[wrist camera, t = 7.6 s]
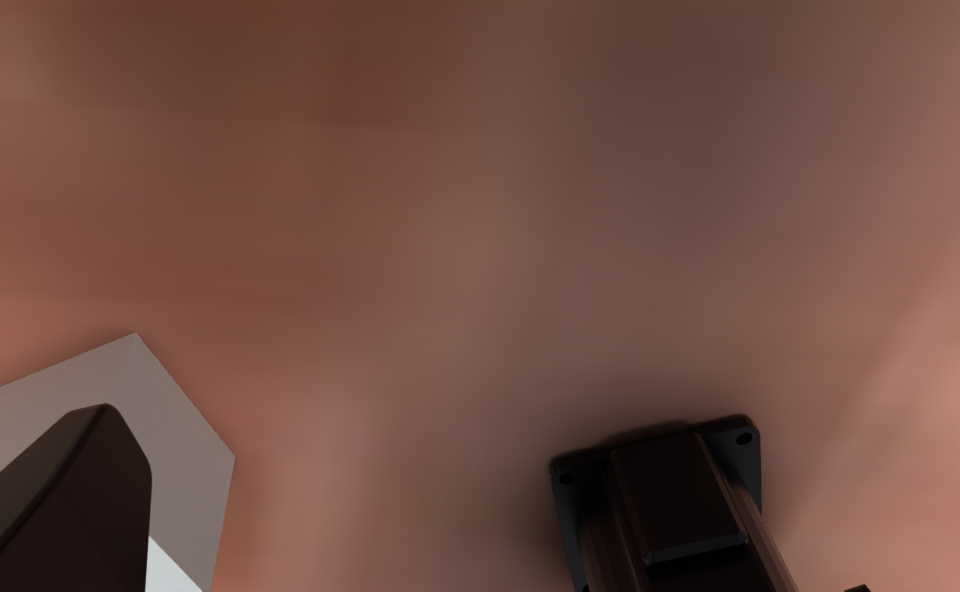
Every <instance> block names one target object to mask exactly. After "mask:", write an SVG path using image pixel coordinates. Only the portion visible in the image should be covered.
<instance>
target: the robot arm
mask: <svg viewBox="0 0 960 592" xmlns="http://www.w3.org/2000/svg"><path fill="white" fill-rule="evenodd" d="M743 433H745V434H743ZM740 434H743V435H741V436H739V435H740ZM564 473H569V474H567V475H562V474H564ZM549 475H550V480H551V484H552V489H553V494H554V498H555V503H556V507H557V512H558V516H559V521H560V525H561V530H562V535H563V539H564V544H565V548H566V553H567V557H568V562H569V566H570V571H571V576H572V580H573V585H574V589H575V592H799V591H798V589H797V587H796V585H795V583H794V581H793V579H792V577H791V575H790V573H789V571H788V569H787V567H786V565H785V563H784V561H783V559H782V557H781V555H780V553H779V551H778V549H777V547H776V545H775V543H774V541H773V539H772V537H771V535H770V533H769V531H768V529H767V527H766V525H765V523H764V521H763V519H762V512H761V454H760V433H759V431H758V429H757V427H756V425H755V423H754V422H753V421H752V420H751V419H747V418H738V419H734V420H729V421H725V422H720V423H716V424H711V425H707V426H702V427H698V428H694V429H689V430H685V431H680V432H676V433H671V434H667V435H662V436H658V437H653V438H649V439H644V440H640V441H636V442H631V443H627V444H622V445H618V446H613V447H609V448H604V449H600V450H595V451H591V452H587V453H582V454H578V455H573V456H569V457H564V458H561V459H558V460H556V461H555V462H553V463H552V464H551V466H550V468H549ZM151 496H152V472H151V467H150V464H149V461H148V459H147V457H146V455H145V453H144V452H143V450H142V448H141V446H140V445H139V443H138V441H137V440H136V438H135V436H134V435H133V433H132V431H131V430H130V428H129V426H128V425H127V423H126V421H125V420H124V418H123V416H122V415H121V413H120V412H119V411H118V409H117V408H116V407H114V406H113V405H111V404H108V403H102V404H97V405H93V406H88V407H84V408H80V409H75V410H72V411H69V412H67V413H66V414H65V415H63V416H62V417H61V418H60V419H59V420H58V421H57V422H55V423H54V424H53V425H52V426H51V427H50V428H49V429H48V430H46V431H45V432H44V433H43V434H42V435H41V436H40V437H39V438H37V439H36V440H35V441H34V442H33V443H32V444H31V445H30V446H28V447H27V448H26V449H25V450H24V451H23V452H22V453H20V454H19V455H18V456H17V457H16V458H15V459H14V460H13V461H11V462H10V463H9V464H8V465H7V466H6V467H5V468H4V469H2V470H1V471H0V592H145V590H146V575H147V559H148V543H149V528H150V512H151ZM844 592H870V590H869V589H868V588H867V586H866V585H865V584H863V585H860V586H857V587H854V588H851V589H848V590H844Z"/></svg>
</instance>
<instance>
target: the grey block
mask: <svg viewBox="0 0 960 592" xmlns="http://www.w3.org/2000/svg"><path fill="white" fill-rule="evenodd" d="M102 403H108V404H111V405H113V406H114V407H116V408H117V409H118V411H119V412H120V413H121V415H122V416H123V418H124V420H125V421H126V423H127V425H128V426H129V428H130V430H131V431H132V433H133V435H134V436H135V438H136V440H137V441H138V443H139V445H140V446H141V448H142V450H143V452H144V453H145V455H146V457H147V459H148V461H149V464H150V467H151V472H152V496H151V512H150V528H149V543H148V559H147V575H146V590H145V592H211V587H212V582H213V576H214V571H215V565H216V560H217V554H218V549H219V544H220V538H221V533H222V527H223V522H224V516H225V511H226V506H227V500H228V495H229V489H230V484H231V478H232V473H233V467H234V462H235V456H234V454H233V453H232V452H231V451H230V449H229V448H228V447H227V446H226V444H225V443H224V442H223V441H222V439H221V438H220V437H219V436H218V434H217V433H216V432H215V431H214V429H213V428H212V427H211V426H210V424H209V423H208V422H207V421H206V419H205V418H204V417H203V416H202V414H201V413H200V412H199V411H198V409H197V408H196V407H195V406H194V404H193V403H192V402H191V401H190V399H189V398H188V397H187V396H186V394H185V393H184V392H183V391H182V389H181V388H180V387H179V386H178V384H177V383H176V382H175V381H174V379H173V378H172V377H171V376H170V374H169V373H168V372H167V371H166V369H165V368H164V367H163V366H162V364H161V363H160V362H159V361H158V359H157V358H156V357H155V356H154V354H153V353H152V352H151V351H150V349H149V348H148V347H147V346H146V344H145V343H144V342H143V341H142V339H141V338H140V337H139V335H138V334H137V333H136V332H134V333H132V334H129V335H127V336H124V337H122V338H119V339H117V340H114V341H112V342H110V343H107V344H105V345H102V346H100V347H97V348H95V349H92V350H90V351H87V352H85V353H82V354H80V355H77V356H75V357H72V358H70V359H67V360H65V361H62V362H60V363H57V364H55V365H53V366H50V367H48V368H45V369H43V370H40V371H38V372H35V373H33V374H30V375H28V376H25V377H23V378H20V379H18V380H15V381H13V382H10V383H8V384H5V385H3V386H1V387H0V471H1V470H2V469H4V468H5V467H6V466H7V465H8V464H9V463H10V462H11V461H13V460H14V459H15V458H16V457H17V456H18V455H19V454H20V453H22V452H23V451H24V450H25V449H26V448H27V447H28V446H30V445H31V444H32V443H33V442H34V441H35V440H36V439H37V438H39V437H40V436H41V435H42V434H43V433H44V432H45V431H46V430H48V429H49V428H50V427H51V426H52V425H53V424H54V423H55V422H57V421H58V420H59V419H60V418H61V417H62V416H63V415H65V414H66V413H67V412H69V411H72V410H75V409H80V408H84V407H88V406H93V405H97V404H102Z"/></svg>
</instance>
